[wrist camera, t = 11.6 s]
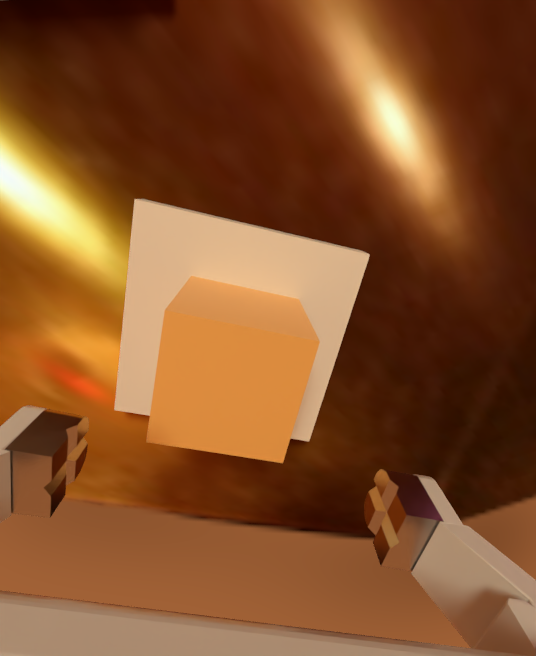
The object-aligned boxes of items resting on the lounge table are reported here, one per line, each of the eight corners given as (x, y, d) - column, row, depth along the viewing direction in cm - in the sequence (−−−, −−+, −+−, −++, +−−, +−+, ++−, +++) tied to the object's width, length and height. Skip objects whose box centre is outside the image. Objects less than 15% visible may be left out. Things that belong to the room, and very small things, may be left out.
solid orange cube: (298, 299, 19) (320, 341, 13) (273, 391, 21) (282, 463, 15) (191, 275, 18) (164, 310, 12) (175, 373, 20) (146, 442, 14)
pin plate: (361, 250, 19) (401, 268, 14) (305, 426, 23) (321, 491, 18) (143, 198, 18) (101, 198, 13) (123, 396, 22) (84, 457, 17)
